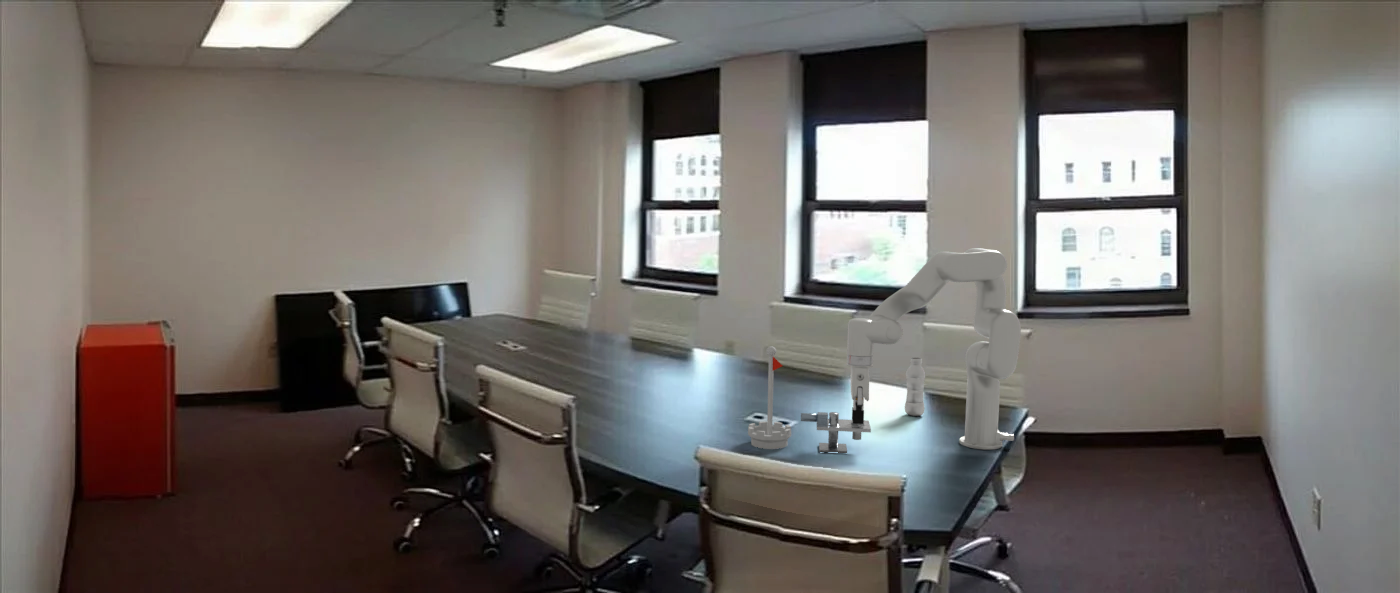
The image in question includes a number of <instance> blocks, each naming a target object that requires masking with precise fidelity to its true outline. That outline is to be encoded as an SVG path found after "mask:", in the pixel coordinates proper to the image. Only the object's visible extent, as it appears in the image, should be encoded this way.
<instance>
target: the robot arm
mask: <svg viewBox="0 0 1400 593" xmlns="http://www.w3.org/2000/svg"><path fill="white" fill-rule="evenodd" d="M1007 269H1008V261H1007V259H1006V256H1005V255H1004V254H1003V253H1002V252H1000V251H998V250H995V249H986V248H980V247H979V248H978V247H972V248H969V249H966V250H965V251H964V252H953V251H952V252H951V251H938V252H936V253H934V254H933V255H932V256H931V257H930V258H929V259H928V261H927V262H925V264H924V265H923V266H922V267H921V268H920V269H919V271H918V272H917V273H916V274H915V275H914V276H913V277H912V278H911V279H910V280H909V281H908V283H907V284H906V285H904V286H903V287H901V288H900V289H898V290H897V291H896V292H894V293H893V294H891V295H890V296H888V297H887V298H886V299H885V300H883V301H882V302H881V303H880V304H879V305H877V307H876V308H875V310H873V311H872V313H871V314H870V315H869V316H868V317H867V318H864V317H863V318H862V317H856V318H851V319H849V321H848V322H847V343H846V344H847V346H846V347H847V348H846V366H848V367H850V379H849V380H850V382H849V384H850V395H851V400H852V404H853V403H854V410H853V406H852V409H851V420H853V424H863V423H864V419H865V410H864V408H865V407H864V405H865V404H864V403H865V401H866V402H869V400H870V368H872V367H873V365H874V364H873V362H874V344H881V345H890V346H891V345H895V344H897V343H898V342H899V341H900V340H901V339H902V337H903V335H904V330H903V327H902V325H901V324H900V323H899V322H898V320H899V319H900V318H902V317H903V316H904V315H906V314H908V313H910V312H912V311H915V310H918V309H921V308H924V307H925V306H927V305H929V304H930V303H932V301H933V300H934V299H935V297H936V296H937V295H938V294H939V293H940V292H941V291H942V290H943V289H944V287H945V286H946V285H947V284H948V283H949V282H951V283H974V284H975V287H976V297H975V298H976V300H975V306H974V307H975V308H974V316H973V328H974V331H975V332H976V333H977V335H979V336H980V337H984V338H985V339H988V341H983V340H981V341H975V342H974V343H972V344H970V346H968V348H967V350H966V353H965V361H964V362H965V369H966V377H967V378H966V379H967V380H966V382H967V383H966V398H965V399H966V403H965V423H964V436H961V437H960V438H959V440H958V442H959V444H960V445H961V446H964V447H967V448H970V449H976V450H997V449H1000V448H1002V447H1003V441H1008V442H1009V441H1010V442H1014V441H1015V435H1014V433H1013V434H1009V433H1008V432H1001V431H1000V430H999V415H1000V412H999V411H1000V396H1001V394H1000V392H1001V384H1000V380H1005V379H1008V378H1009V377H1011V376H1012V375H1013V373H1014V372H1015V370H1016V369H1017V365H1018V361H1019V360H1018V359H1019V353H1020V352H1019V351H1020V344H1021V343H1020V342H1021V334H1022V326H1021V322H1020V320H1019V318H1018V316H1017V315H1016V313H1014V312H1013V311H1010V310H1008V309H1007V308H1006V307H1007V306H1006V305H1007V285H1006V281H1005V278H1004V274H1005V273H1006V271H1007ZM856 398H857V400H856ZM856 402H857V403H856Z"/></svg>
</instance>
